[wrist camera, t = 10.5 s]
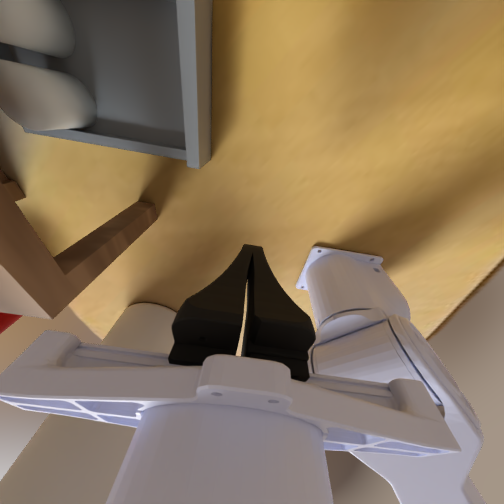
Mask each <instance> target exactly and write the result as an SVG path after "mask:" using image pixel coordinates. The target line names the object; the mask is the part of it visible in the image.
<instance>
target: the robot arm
mask: <svg viewBox="0 0 504 504" xmlns="http://www.w3.org/2000/svg"><path fill="white" fill-rule="evenodd" d="M318 250H320V251H318ZM371 258H372V259H371ZM382 262H383V258H382V257H381V256H375V255H369V254H362V253H356V252H350V251H344V250H338V249H332V248H325V247H319V246H314V247H312V249H311V251H310V253H309V256H308V258H307V260H306V263H305V265H304V267H303V269H302V272H301V274H300V276H299V279H298V281H297V283H296V288H297V289H303V290H308V292H309V297H310V301H311V305H312V310H313V314H314V318H315V322H316V327H317V332H315V331H314V327H313V324H312V321H311V319H310V317H309V316H308V315H307V314H306V313H305V312H304V311H303V310H302V309H301V308H299V307H298V306H297V305H296V304H295V303H294V302H293V301H292V299H291V298H290V297H289V296H288V295H287V294H286V292H285V291H284V290H283V288H282V287H281V286H280V284H279V283H278V281H277V280H276V278H275V276H274V275H273V273H272V271H271V269H270V267H269V265H268V262H267V260H266V257H265V255H264V252H263V248H262V247H260V246H254V245H247V244H244V245H243V247H242V249H241V251H240V253H239V254H238V256H237V257H236V259H235V260H234V261H233V263H232V264H231V265H230V266H229V267H228V268H227V270H226V271H225V272H224V273H223V274H222V275H221V276H219V277H218V278H217V279H216V280H215V281H214V282H212V283H211V284H210V285H208V286H207V287H205V288H204V289H203V290H201V291H200V292H198V293H196V294H195V295H193V296H191V297H189V298H188V299H186V300H185V302H184V303H183V305H182V306H181V308H180V309H179V311H178V312H177V314H176V316H175V319H174V321H173V323H172V327H171V329H172V334H173V338H174V344H173V347H172V349H171V352H170V354H166V353H159V352H151V351H144V350H137V349H129V348H122V347H114V346H107V345H100V344H92V343H85V342H81V340H80V339H79V337H77V336H76V335H74V334H72V333H68V332H60V331H52V330H46V331H44V332H43V333H42V334H41V335H40V336H39V337H38V338H37V339H36V340H35V341H34V342H33V343H32V344H31V345H30V346H29V347H28V348H27V349H26V350H25V351H24V352H23V353H22V354H21V355H20V356H19V357H18V358H16V359H15V360H14V362H12V364H10V365H9V366H8V367H7V368H6V369H5V370H4V371H3V372H2V373H1V374H0V400H1V401H4V402H6V403H8V404H11V405H13V406H16V407H18V408H21V409H23V410H29V411H37V412H45V413H52V414H58V415H65V416H71V417H77V418H83V419H89V420H95V421H101V422H106V423H112V424H118V425H124V426H129V427H135V428H137V429H136V431H135V434H134V436H133V438H132V441H131V443H130V446H129V448H128V451H127V453H126V455H125V458H124V460H123V463H122V465H121V467H120V470H119V472H118V475H117V477H116V479H115V482H114V484H113V487H112V489H111V491H110V494H109V496H108V499H107V501H106V504H333V497H332V492H331V486H330V480H329V474H328V468H327V462H326V456H325V450H336V451H349V452H350V453H352V454H353V455H354V456H356V457H357V458H358V459H359V460H361V461H362V462H363V463H365V464H366V465H367V466H369V467H370V468H371V469H373V470H374V471H375V472H377V473H378V474H379V475H381V476H382V477H383V478H384V479H386V480H387V481H388V482H389V483H390V484H391V485H392V488H393V490H394V492H395V494H396V496H397V498H398V500H399V502H400V504H486V502H485V501H484V499H483V497H482V496H481V494H480V493H479V491H478V490H477V488H476V487H475V485H474V483H473V482H472V480H471V479H470V477H469V476H468V474H469V472H470V470H471V468H472V466H473V464H474V462H475V459H476V458H477V456H478V454H479V452H480V450H481V448H482V445H483V442H484V436H483V433H482V430H481V428H480V427H481V423H480V420H479V418H478V417H477V414H476V413H475V411H474V409H473V407H472V406H471V404H470V403H469V401H468V400H467V399H466V397H465V396H464V394H463V393H462V392H461V390H460V389H459V387H458V385H457V383H456V382H455V380H454V379H453V377H452V376H451V374H450V373H449V371H448V370H447V368H446V367H445V365H444V364H443V362H442V361H441V360H440V358H439V357H438V355H437V354H436V353H435V351H434V350H433V349H432V347H431V346H430V345H429V343H428V342H427V341H426V340H425V338H424V337H423V336H422V334H421V333H420V332H419V331H418V330H417V328H416V327H415V326H414V325H413V324H412V323H411V322H410V309H409V306H408V303H407V301H406V299H405V297H404V296H403V295H402V293H401V292H400V291H399V289H398V288H397V287H396V285H395V284H394V283H393V281H392V280H391V279H390V277H389V276H388V275H387V273H386V272H385V271H384V269H383V268H382V267H381V265H380V264H381V263H382ZM247 279H248V284H247V312H246V320H245V329H244V337H243V345H242V352H241V356H236V351H237V347H238V343H239V338H240V333H241V328H242V323H243V314H244V301H245V290H246V283H247ZM302 286H303V287H302ZM313 344H314V345H313Z"/></svg>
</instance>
